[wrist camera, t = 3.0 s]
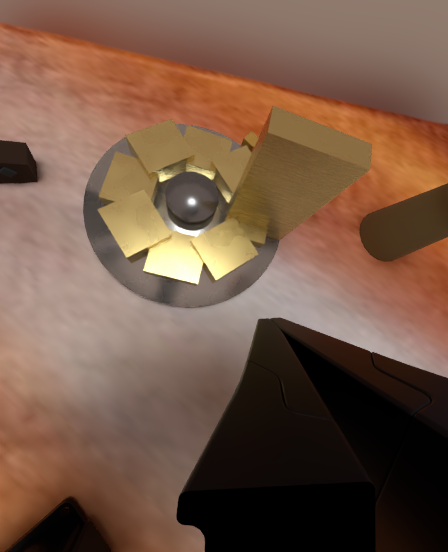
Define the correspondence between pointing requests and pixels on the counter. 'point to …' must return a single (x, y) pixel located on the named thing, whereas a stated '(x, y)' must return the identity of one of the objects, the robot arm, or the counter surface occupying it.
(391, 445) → the robot arm
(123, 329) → the counter surface
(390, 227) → the olive pepper mill
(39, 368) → the counter surface
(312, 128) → the tan block ring
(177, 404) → the counter surface
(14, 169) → the adjustable wrench
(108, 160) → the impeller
